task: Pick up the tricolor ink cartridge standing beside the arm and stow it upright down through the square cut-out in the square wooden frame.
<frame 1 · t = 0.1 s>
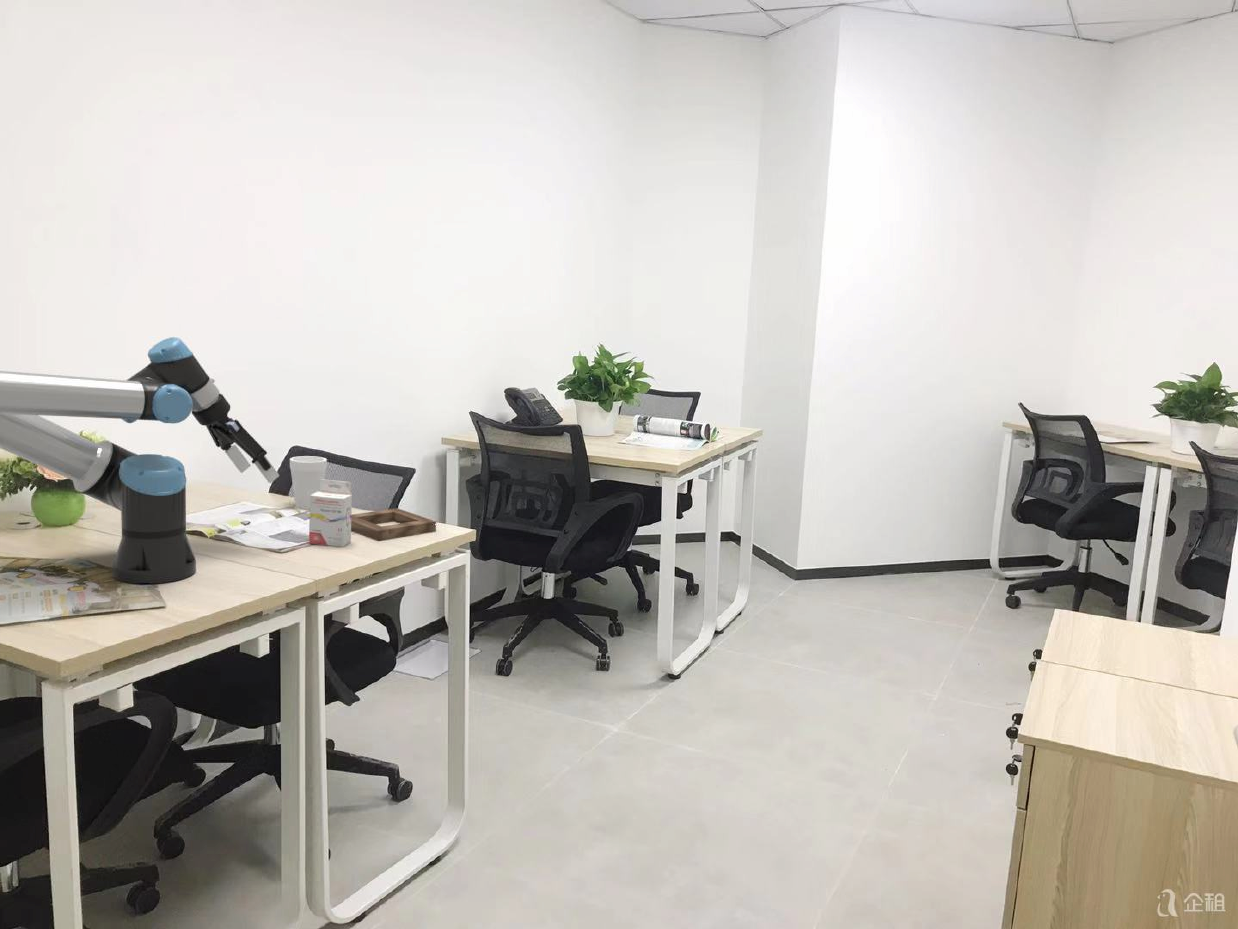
hand: (259, 474, 217), 15 cm above the table, tool tilted 35°, fingers open, 13 cm apart
square wooden frame: (387, 528, 236), on the table
foam cup: (308, 507, 253), on the table
ink cartridge box: (330, 543, 220), on the table
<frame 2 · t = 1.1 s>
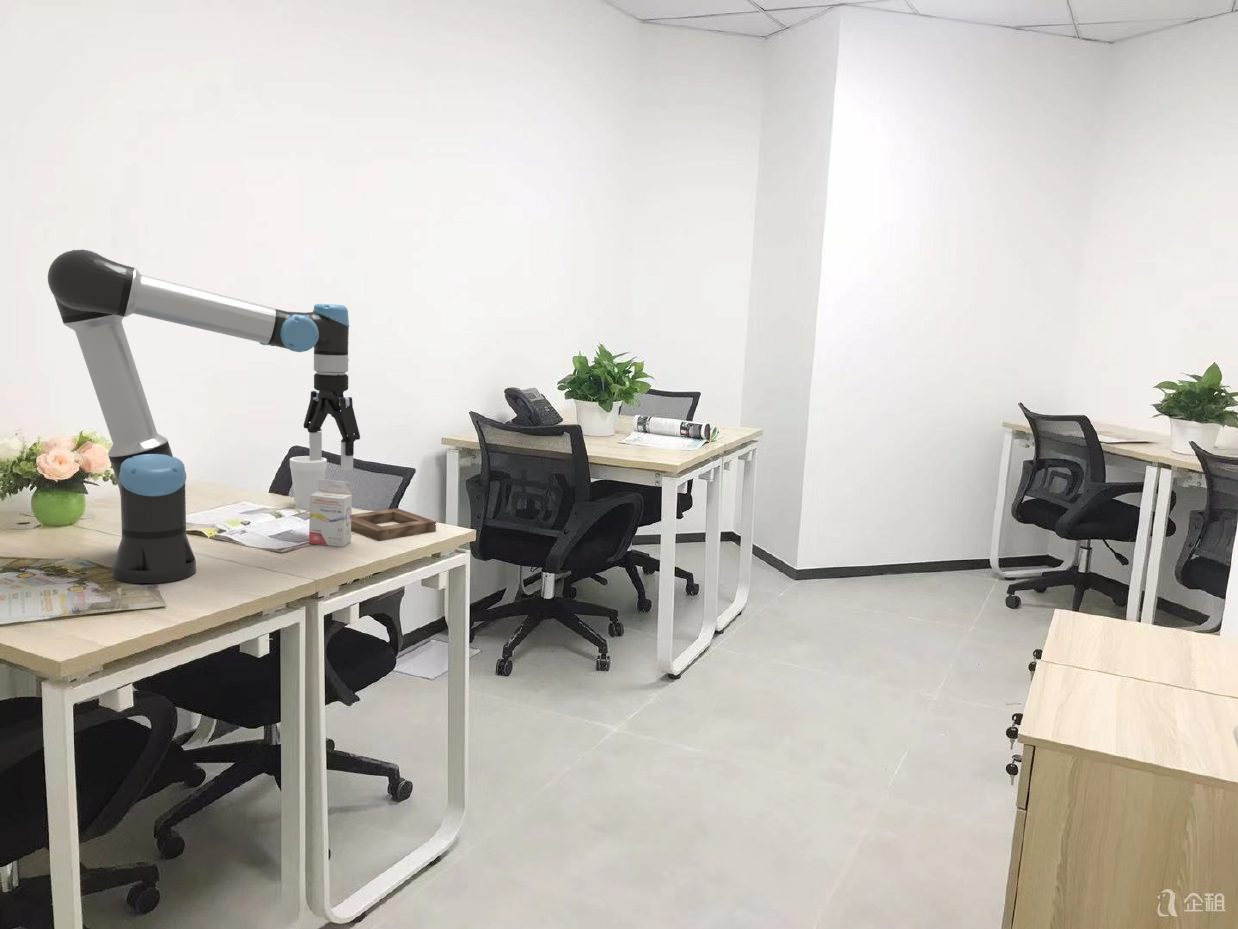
hand: (331, 464, 217), 19 cm above the table, tool pointing down, fingers open, 13 cm apart
nothing on the table moved.
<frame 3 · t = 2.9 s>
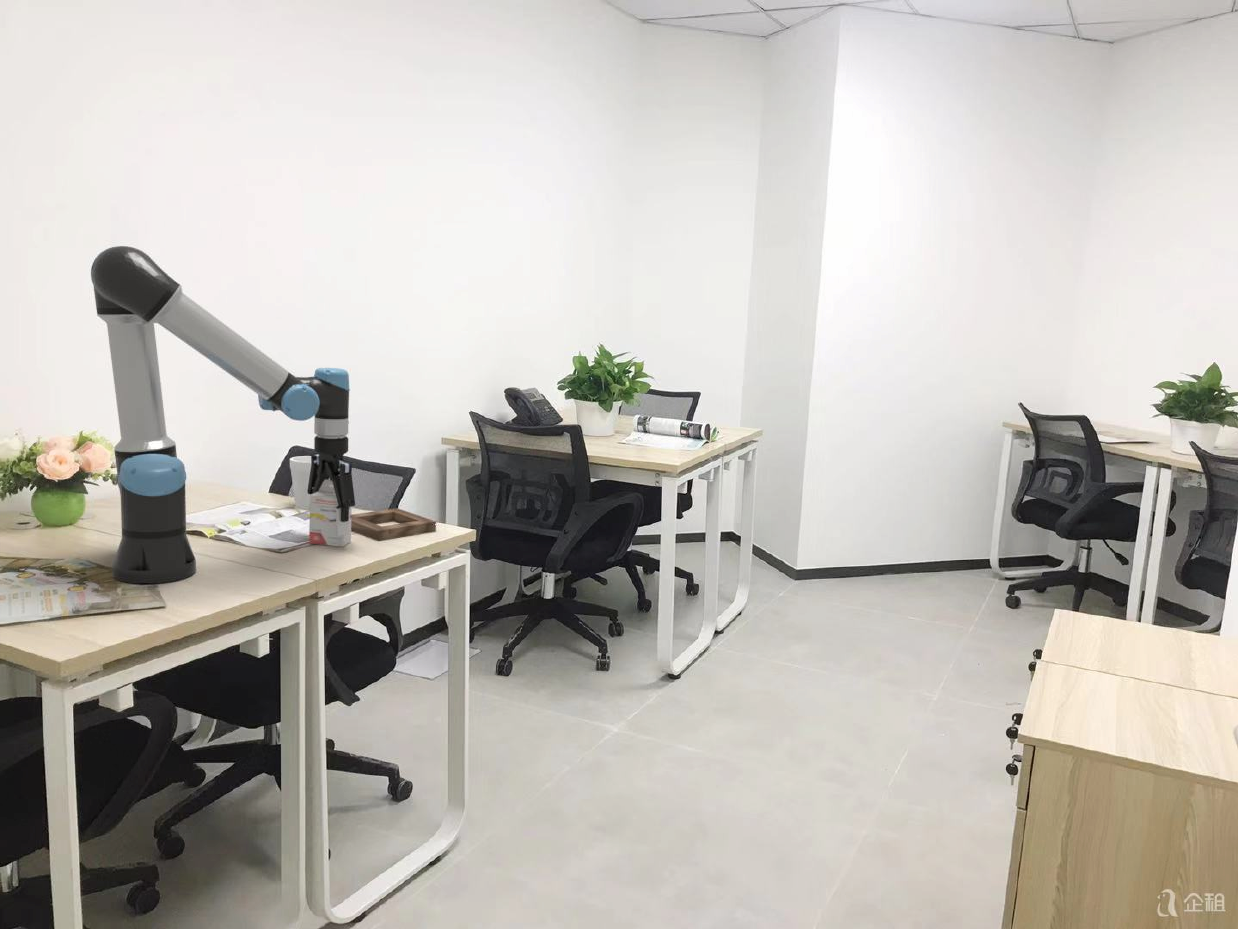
hand: (330, 530, 220), 3 cm above the table, tool pointing down, fingers closed on ink cartridge box, 9 cm apart
ink cartridge box: (330, 543, 220), on the table, touching gripper
everything else where it was.
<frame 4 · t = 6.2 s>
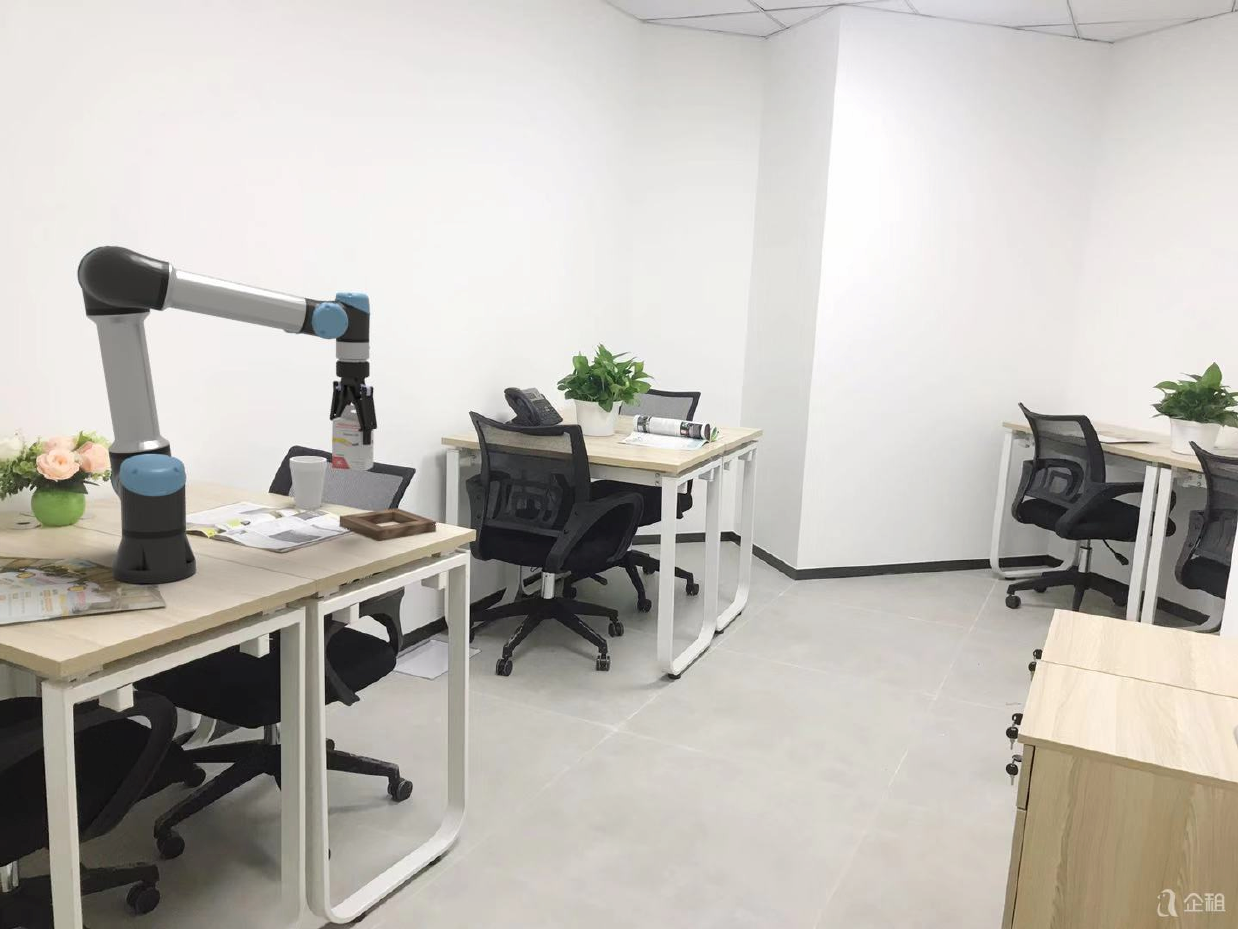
hand: (352, 454, 222), 20 cm above the table, tool pointing down, fingers closed on ink cartridge box, 9 cm apart
ink cartridge box: (352, 468, 222), point 17 cm above the table, touching gripper
everything else where it was.
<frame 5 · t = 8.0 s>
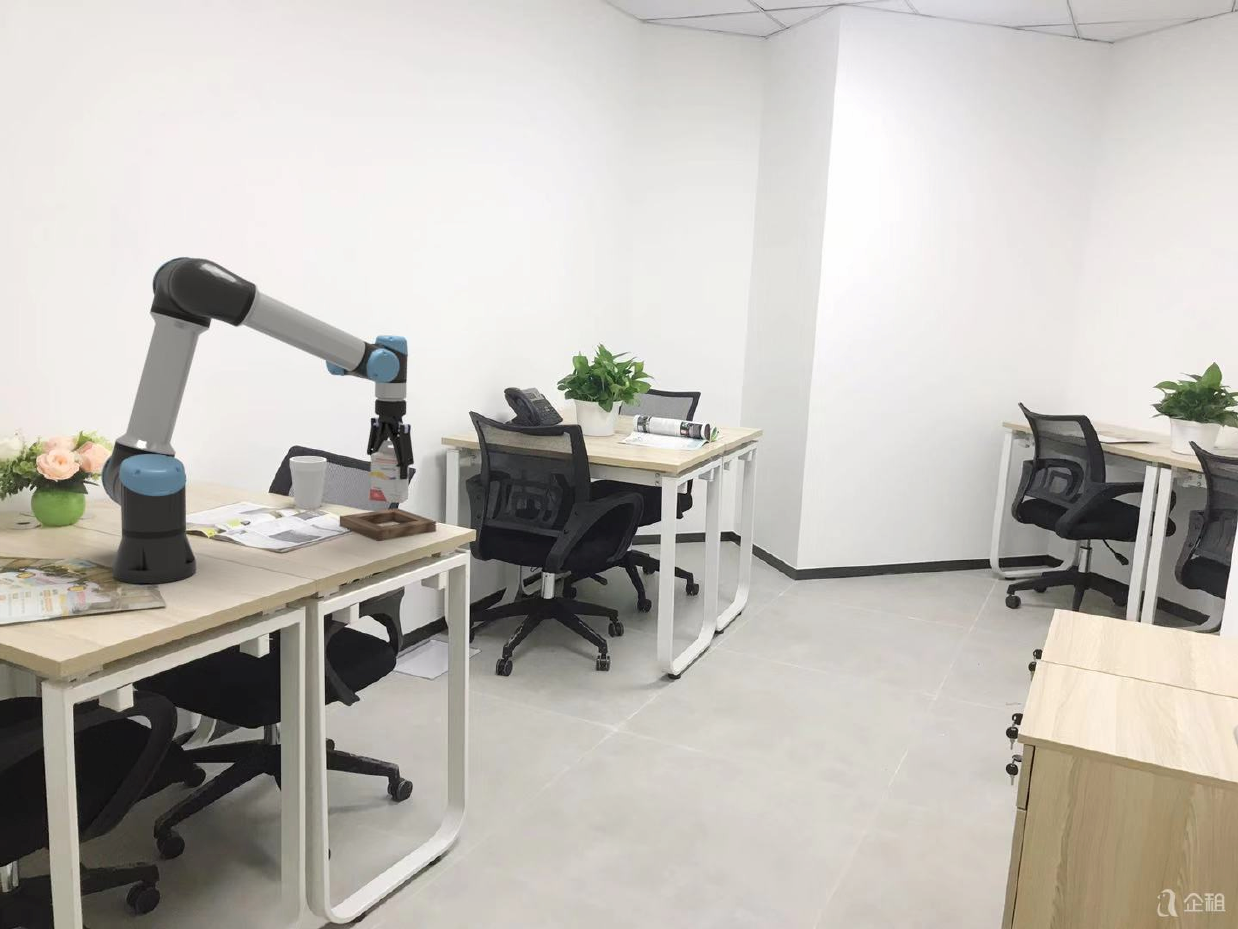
hand: (389, 487, 235), 10 cm above the table, tool pointing down, fingers closed on ink cartridge box, 9 cm apart
ink cartridge box: (389, 500, 235), point 7 cm above the table, touching gripper
everything else where it was.
when the fingers open (5 cm above the table, at t = 9.6 s): ink cartridge box drops 2 cm, resting in square wooden frame.
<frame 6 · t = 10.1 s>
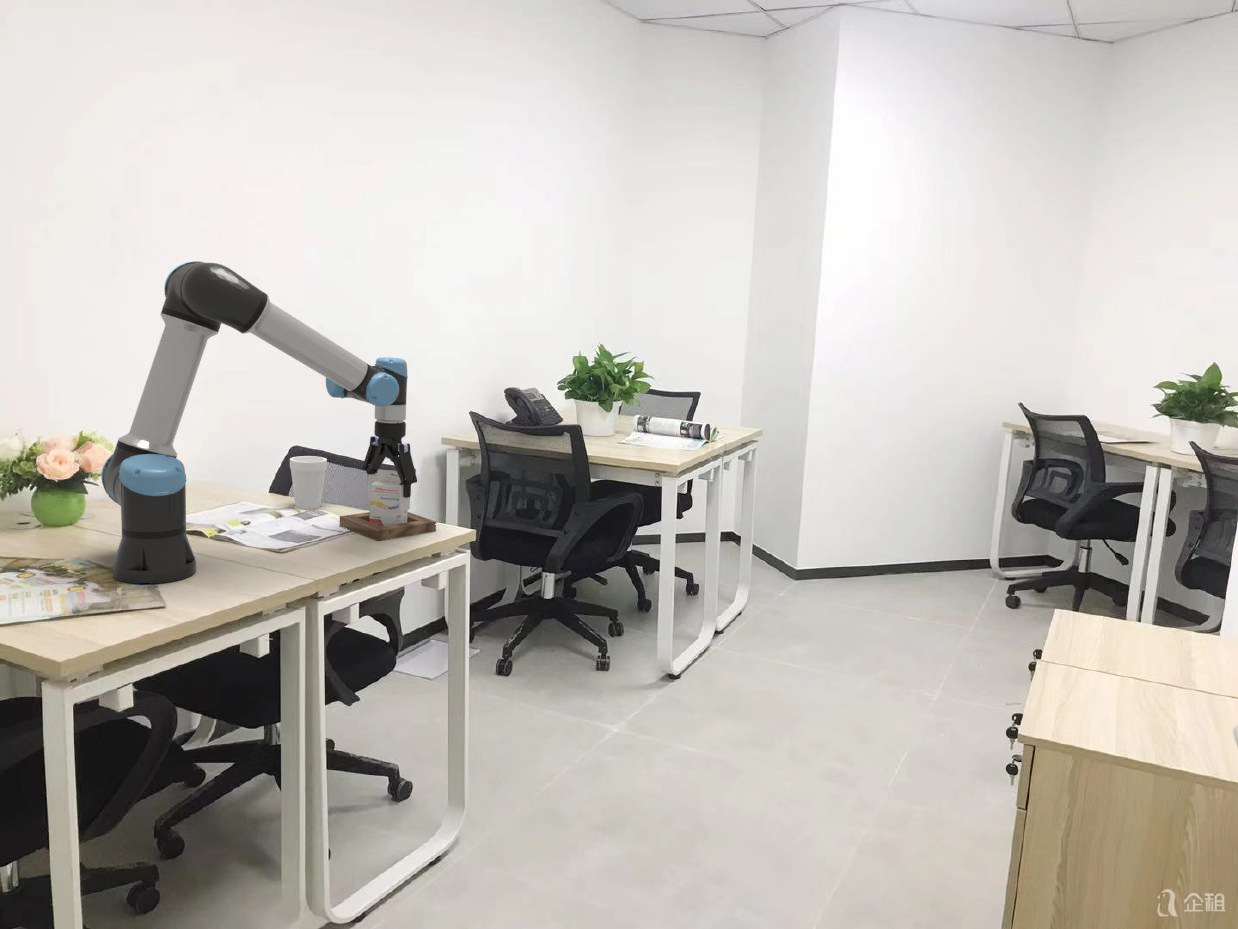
hand: (388, 504, 235), 6 cm above the table, tool pointing down, fingers open, 13 cm apart
ink cartridge box: (388, 529, 236), resting in square wooden frame
everything else where it was.
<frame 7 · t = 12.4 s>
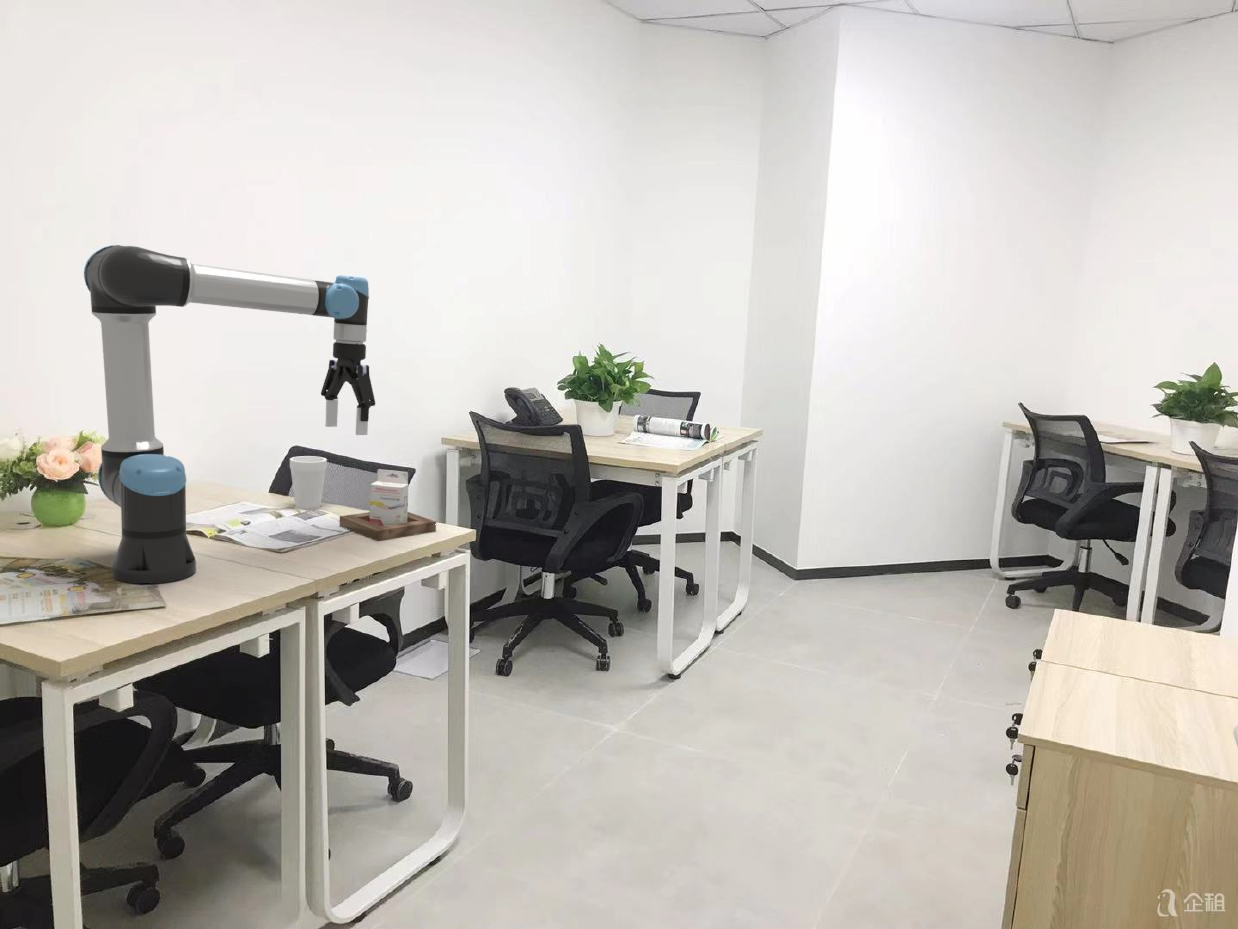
hand: (346, 430, 226), 25 cm above the table, tool pointing down, fingers open, 13 cm apart
nothing on the table moved.
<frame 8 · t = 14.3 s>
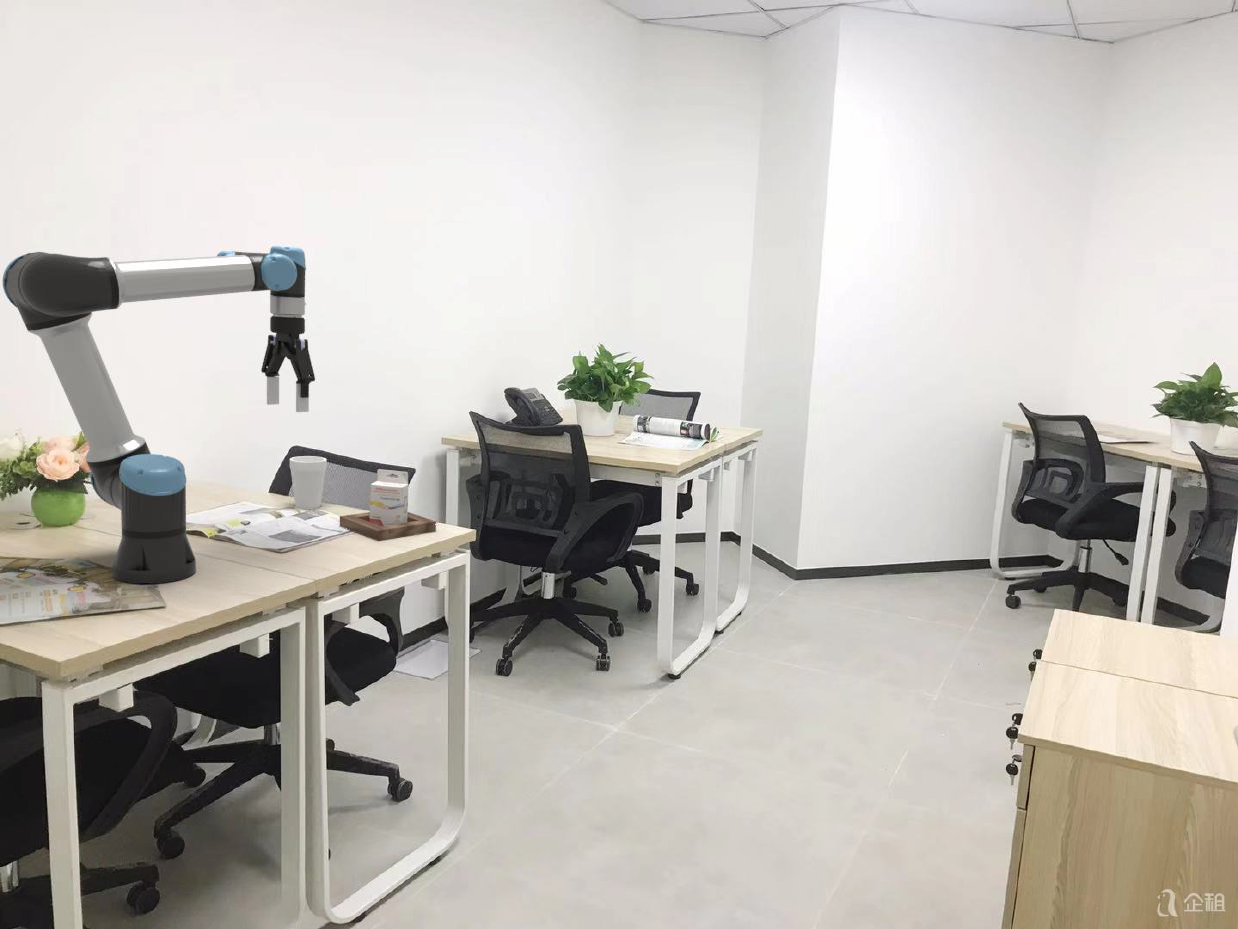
hand: (287, 408, 218), 31 cm above the table, tool pointing down, fingers open, 13 cm apart
nothing on the table moved.
at the end: ink cartridge box 0.3 cm off-centre on the square wooden frame, point 0.0 cm above the square wooden frame's base; ink cartridge box tilted 0°; the gripper is holding nothing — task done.
